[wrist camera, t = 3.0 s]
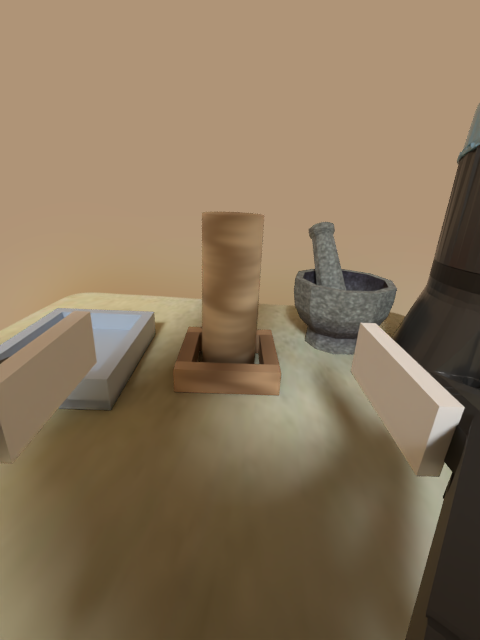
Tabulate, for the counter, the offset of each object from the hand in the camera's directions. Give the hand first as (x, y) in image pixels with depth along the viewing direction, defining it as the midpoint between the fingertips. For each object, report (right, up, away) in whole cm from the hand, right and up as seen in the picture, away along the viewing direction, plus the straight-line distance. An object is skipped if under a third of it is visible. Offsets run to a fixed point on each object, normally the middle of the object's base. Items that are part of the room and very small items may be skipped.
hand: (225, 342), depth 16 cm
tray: (-13, -3, +13) cm, 18 cm away
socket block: (0, -3, +13) cm, 13 cm away
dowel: (0, -3, +13) cm, 13 cm away
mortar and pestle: (+11, -1, +20) cm, 22 cm away
